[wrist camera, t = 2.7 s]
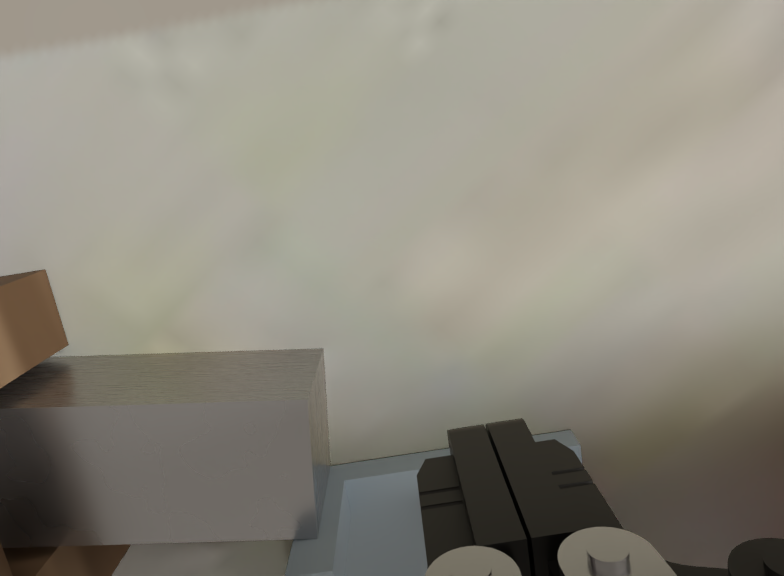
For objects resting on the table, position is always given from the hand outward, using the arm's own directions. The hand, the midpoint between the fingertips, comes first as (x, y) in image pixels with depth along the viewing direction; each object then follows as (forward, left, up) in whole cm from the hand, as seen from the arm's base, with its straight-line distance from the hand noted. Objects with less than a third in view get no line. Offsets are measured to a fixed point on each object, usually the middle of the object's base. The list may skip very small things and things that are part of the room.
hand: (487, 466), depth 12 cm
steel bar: (+12, 0, -7) cm, 14 cm away
